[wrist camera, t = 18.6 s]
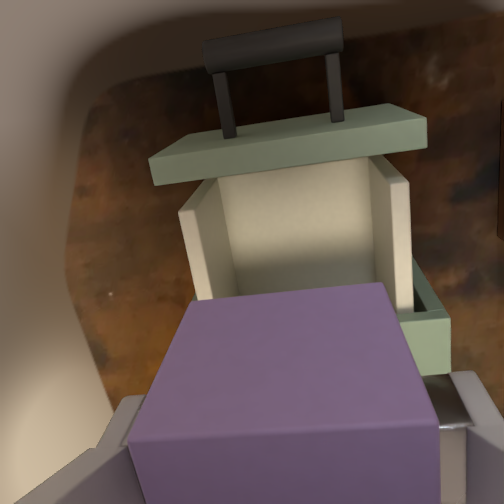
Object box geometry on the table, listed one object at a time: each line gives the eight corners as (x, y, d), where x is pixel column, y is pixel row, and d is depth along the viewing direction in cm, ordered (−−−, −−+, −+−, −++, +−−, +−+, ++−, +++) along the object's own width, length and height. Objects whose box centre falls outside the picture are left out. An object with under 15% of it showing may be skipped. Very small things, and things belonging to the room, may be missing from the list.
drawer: (171, 54, 25) (121, 48, 18) (385, 16, 24) (424, -7, 16) (228, 334, 32) (208, 414, 24) (400, 319, 30) (433, 399, 23)
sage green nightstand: (208, 263, 31) (172, 342, 22) (403, 241, 29) (451, 317, 20) (243, 435, 36) (226, 557, 27) (411, 425, 34) (452, 552, 25)
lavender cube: (223, 447, 13) (185, 634, 8) (189, 299, 11) (123, 440, 7) (393, 438, 12) (444, 635, 8) (383, 280, 10) (441, 421, 6)
